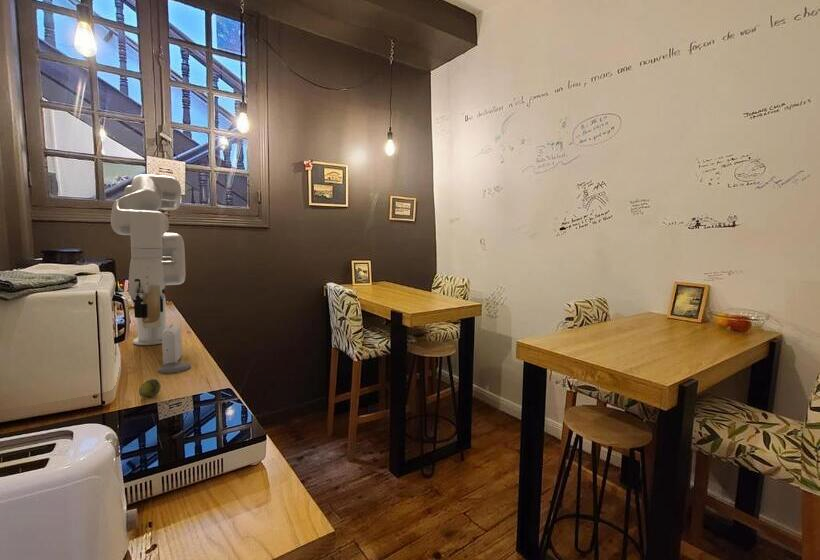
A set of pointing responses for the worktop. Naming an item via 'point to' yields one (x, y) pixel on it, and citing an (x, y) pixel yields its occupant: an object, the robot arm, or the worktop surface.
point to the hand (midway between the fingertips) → (149, 314)
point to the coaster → (174, 367)
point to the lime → (150, 388)
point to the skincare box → (152, 308)
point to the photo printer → (171, 344)
